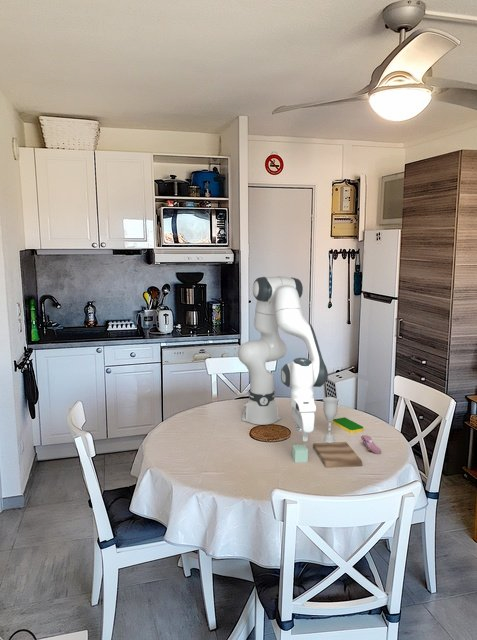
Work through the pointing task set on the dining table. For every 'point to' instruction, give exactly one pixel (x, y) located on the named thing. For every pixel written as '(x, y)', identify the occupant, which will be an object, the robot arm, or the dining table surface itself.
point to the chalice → (330, 415)
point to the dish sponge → (348, 425)
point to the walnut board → (337, 454)
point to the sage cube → (299, 453)
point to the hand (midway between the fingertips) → (301, 435)
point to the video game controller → (370, 444)
